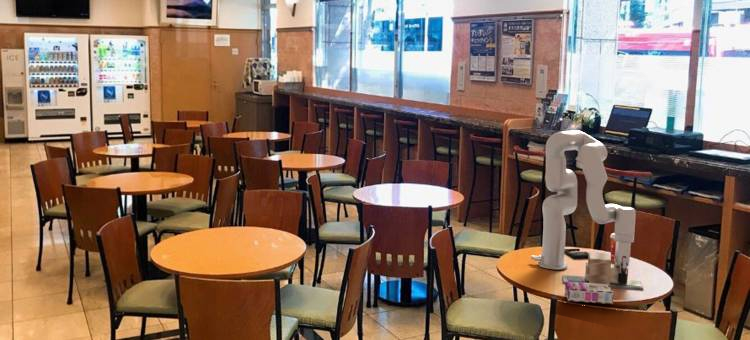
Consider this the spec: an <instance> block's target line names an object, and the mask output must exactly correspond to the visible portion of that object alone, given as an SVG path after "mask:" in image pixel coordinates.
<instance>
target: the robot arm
mask: <svg viewBox="0 0 750 340" xmlns="http://www.w3.org/2000/svg"><path fill="white" fill-rule="evenodd" d="M544 151H545V187H546V188H547V189H548V191H550V192H554V193H556V194H552V195H549V196H548V197H546V198H545V199H544V200H543V202H542V217H543V225H542V226H543V231H542V248H541V249H542V250H541V253H540V254H539V255H532V254H531V259H530V260H533V261H535V262H537V261H538V262H537V265H538V267H540V268H544V269H548V270H565V269H567V268H568V263H566V262H565V253H564V252H565V249H566V231H567V229H566V226H567V224H566V220H565V216H568V215H571V214H572V213H574V212H575V211H576V209H577V207H578V178H577V175H576V173H575V172H574V171H573V170H572V169H569V168H567V159H566V155H565V152H566V151H577V154H578V159H579V162H580V166H581V169H582V172H583V174H584V178H585V181H586V190H585V191H586V192H585V194H586V195H585V199H586V205H587V208H588V211H589V214H590V217H591V219H592V220H593V221H594V222H595V223H597V224H598V225H599V224H600V225H605V224H608V223H614V222H615V224H614V233H615V235H614V240H615V241H616V249H615V259H614V261H615V263H614V265H617V266H618V265H620V266H619V267H620V268H619V275H618V283H626V282H627V268H628V267H629V266H630V261H631V245H632V244H631V243H634V242H635V227H636V209H635V208H634V207H631V206H622V205H619V204H615V203H607V204H606V203H605V201H604V200H605V199H604V197H603V190H604V187H605V184H606V183H607V181H608V175H607V171H606V168H605V165H604V161H605V160H606V159H607V157H608V149H607V148H606V146H605V145H604V144H603V143H602V142H601V141H599V140H597V139H596V138H594V137H593V136H591V135H589V134H587V133H586V132H583V131H581V130H576V129H574V130H573V129H572V130H561V131H557V132H554V133H553V134H551V135H550V136H549V137H548V139H547V140H546V143H545V150H544ZM622 265H623V266H622ZM621 267H622V268H621Z"/></svg>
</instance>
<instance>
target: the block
mask: <svg viewBox="0 0 750 340" xmlns="http://www.w3.org/2000/svg"><path fill="white" fill-rule="evenodd" d="M619 266H620V265H618V266H617V265H616V264H612V263H611V273H610V282H612V283H618V275H619V268H620V267H619ZM622 266H623V265H622ZM621 268H622V267H621ZM589 271H590V263H588V262H585V274H584V275H585V276H584V277H585V278H586V280H587V281H589ZM628 277H629V268H628V267H627V280H629V279H628ZM624 284H627V282H626V283H624Z"/></svg>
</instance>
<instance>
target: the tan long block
mask: <svg viewBox="0 0 750 340" xmlns="http://www.w3.org/2000/svg"><path fill="white" fill-rule="evenodd" d="M588 253H589V254H588V259H587V263H590V271H589V281H587V280H586V278H585V276H580V275H579V276H578V275H569V274H568V275H567V274H562V284H565V283H566V282H579V283H596V284H609V286H610V288H611V289H623V290H624V289H625V290H634V291H635V290H637V291H638V290H639V291H644V286H643V284H642V282H641V281H640V280H632V279H631V280H630V279H628V280H627V284H624V283H612V282H610V273H611V264H612V261H611V255H610V253H609V252H594V251H588Z"/></svg>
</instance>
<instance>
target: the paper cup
mask: <svg viewBox="0 0 750 340" xmlns="http://www.w3.org/2000/svg"><path fill="white" fill-rule="evenodd" d="M614 235H615V232H613V233H611V234H610V236H609V237H610V258H611V263H614V264H615V261H614V259H615V249H616V241H615V240H614Z"/></svg>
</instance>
